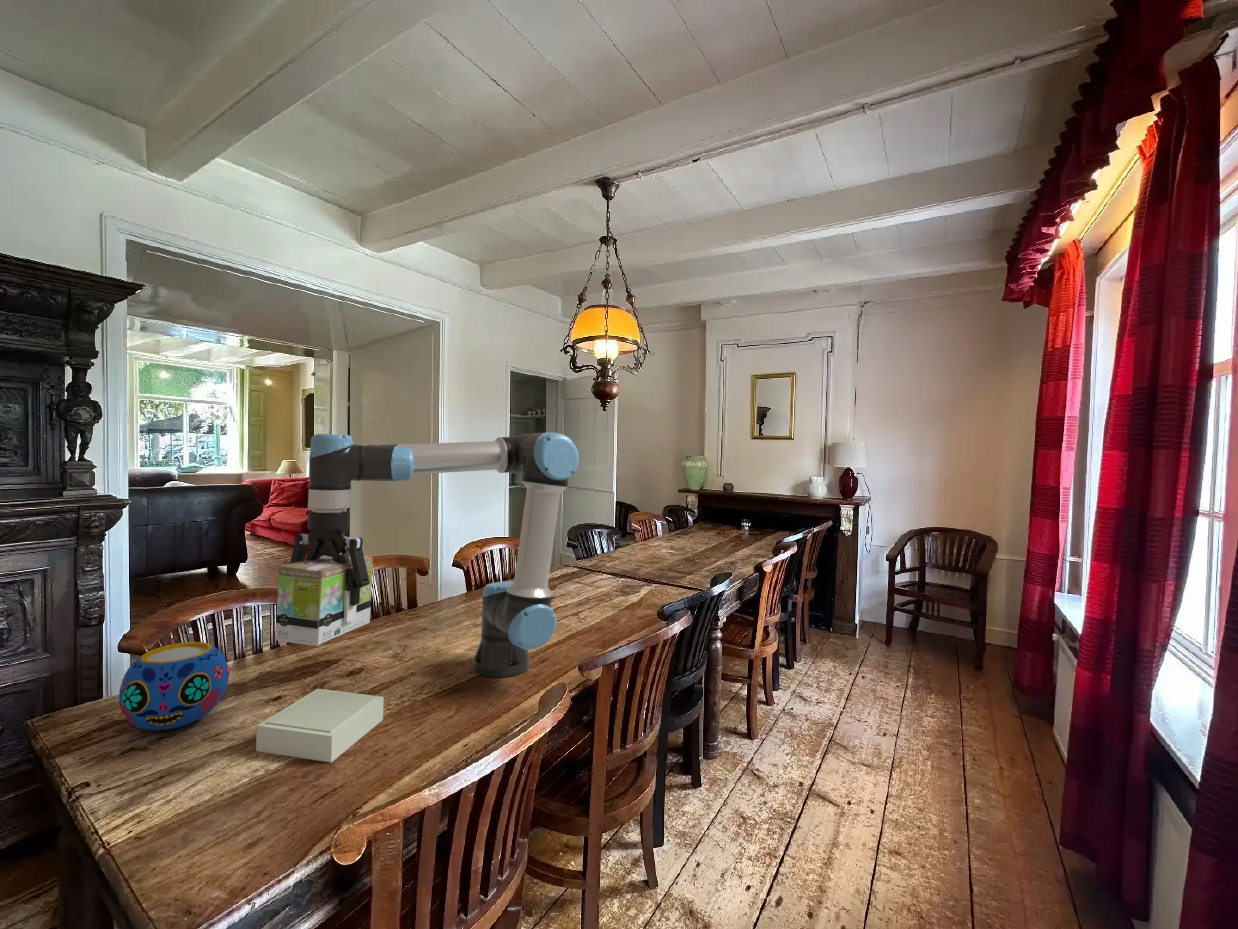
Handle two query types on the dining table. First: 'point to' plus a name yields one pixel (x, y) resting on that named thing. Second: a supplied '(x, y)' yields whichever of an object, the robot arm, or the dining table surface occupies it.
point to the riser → (320, 725)
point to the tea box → (317, 601)
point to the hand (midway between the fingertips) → (326, 618)
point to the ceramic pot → (173, 685)
